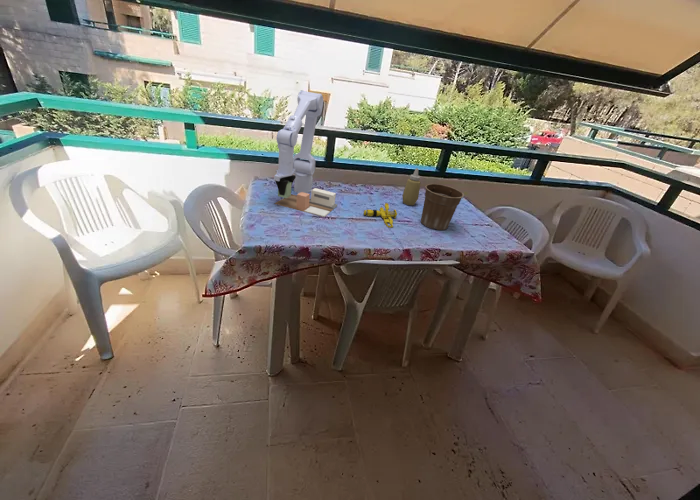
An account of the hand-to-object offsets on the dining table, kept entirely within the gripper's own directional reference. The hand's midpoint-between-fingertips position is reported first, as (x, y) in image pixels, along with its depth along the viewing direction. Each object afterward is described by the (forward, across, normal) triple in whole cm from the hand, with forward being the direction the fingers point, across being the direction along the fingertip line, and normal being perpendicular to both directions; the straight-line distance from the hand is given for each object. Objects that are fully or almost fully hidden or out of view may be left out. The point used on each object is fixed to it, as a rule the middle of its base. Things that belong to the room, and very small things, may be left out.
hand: (284, 193), depth 137 cm
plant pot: (+6, -22, +63) cm, 67 cm away
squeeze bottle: (+6, -41, +48) cm, 63 cm away
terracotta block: (+4, 0, +8) cm, 10 cm away
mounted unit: (+6, -9, +14) cm, 18 cm away
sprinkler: (+6, -14, +40) cm, 43 cm away
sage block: (+1, 0, 0) cm, 1 cm away
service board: (+6, -4, +8) cm, 11 cm away
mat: (+4, 0, +15) cm, 16 cm away
